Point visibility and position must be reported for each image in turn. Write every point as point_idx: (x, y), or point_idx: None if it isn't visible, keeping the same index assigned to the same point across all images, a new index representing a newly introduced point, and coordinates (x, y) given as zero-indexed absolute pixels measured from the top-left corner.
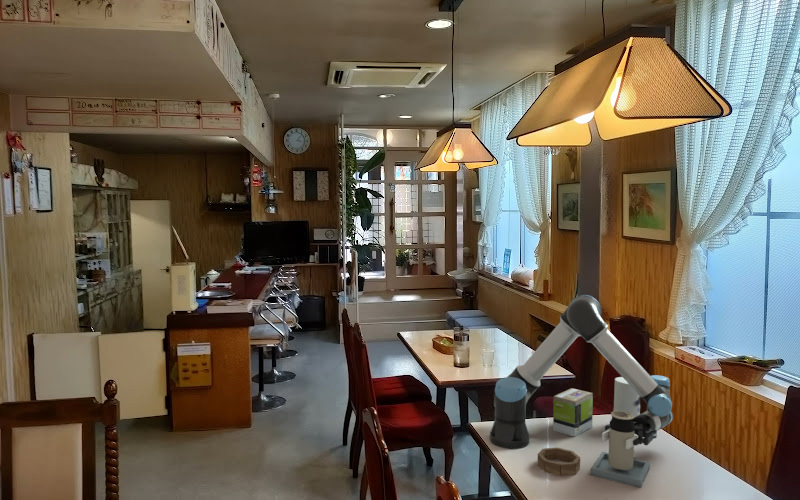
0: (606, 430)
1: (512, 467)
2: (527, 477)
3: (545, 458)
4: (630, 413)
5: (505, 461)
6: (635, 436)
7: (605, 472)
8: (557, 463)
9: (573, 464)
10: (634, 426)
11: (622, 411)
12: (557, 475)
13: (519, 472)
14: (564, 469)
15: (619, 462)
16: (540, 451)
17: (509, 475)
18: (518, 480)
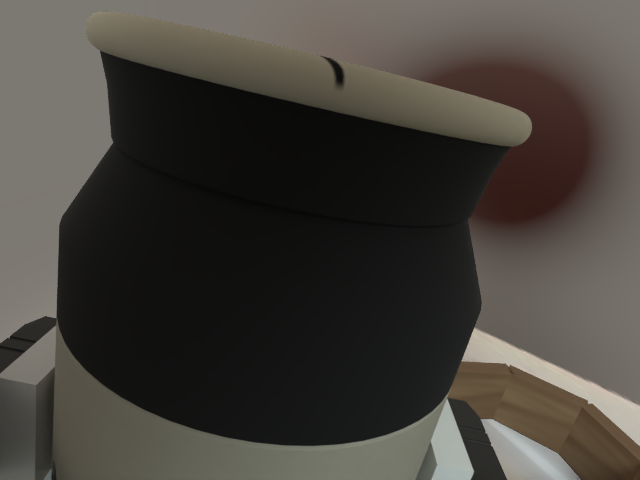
0: (480, 439)
1: (572, 388)
2: (478, 355)
3: (529, 381)
4: (197, 30)
5: (635, 414)
6: (39, 357)
7: None
8: (460, 364)
9: None
10: (67, 211)
11: (425, 85)
12: None
13: (524, 370)
14: None
15: None
16: (621, 431)
17: (514, 346)
18: (472, 334)
